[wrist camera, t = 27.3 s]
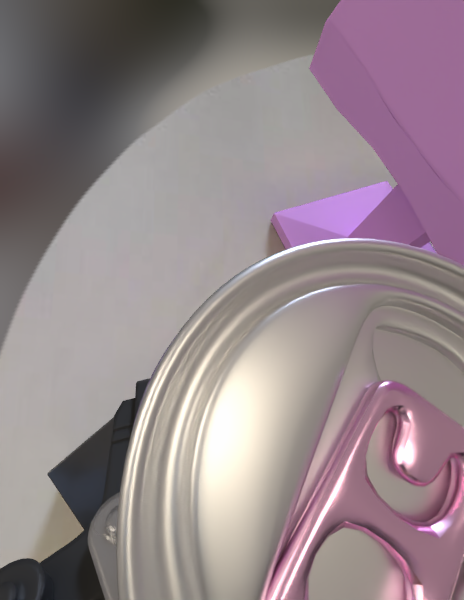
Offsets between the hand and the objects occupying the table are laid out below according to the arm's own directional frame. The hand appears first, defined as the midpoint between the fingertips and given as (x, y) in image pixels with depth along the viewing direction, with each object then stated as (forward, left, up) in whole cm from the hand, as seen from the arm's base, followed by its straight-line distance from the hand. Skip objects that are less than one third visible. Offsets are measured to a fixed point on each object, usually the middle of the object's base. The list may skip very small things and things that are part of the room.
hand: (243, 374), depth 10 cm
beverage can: (-1, -2, -7) cm, 8 cm away
